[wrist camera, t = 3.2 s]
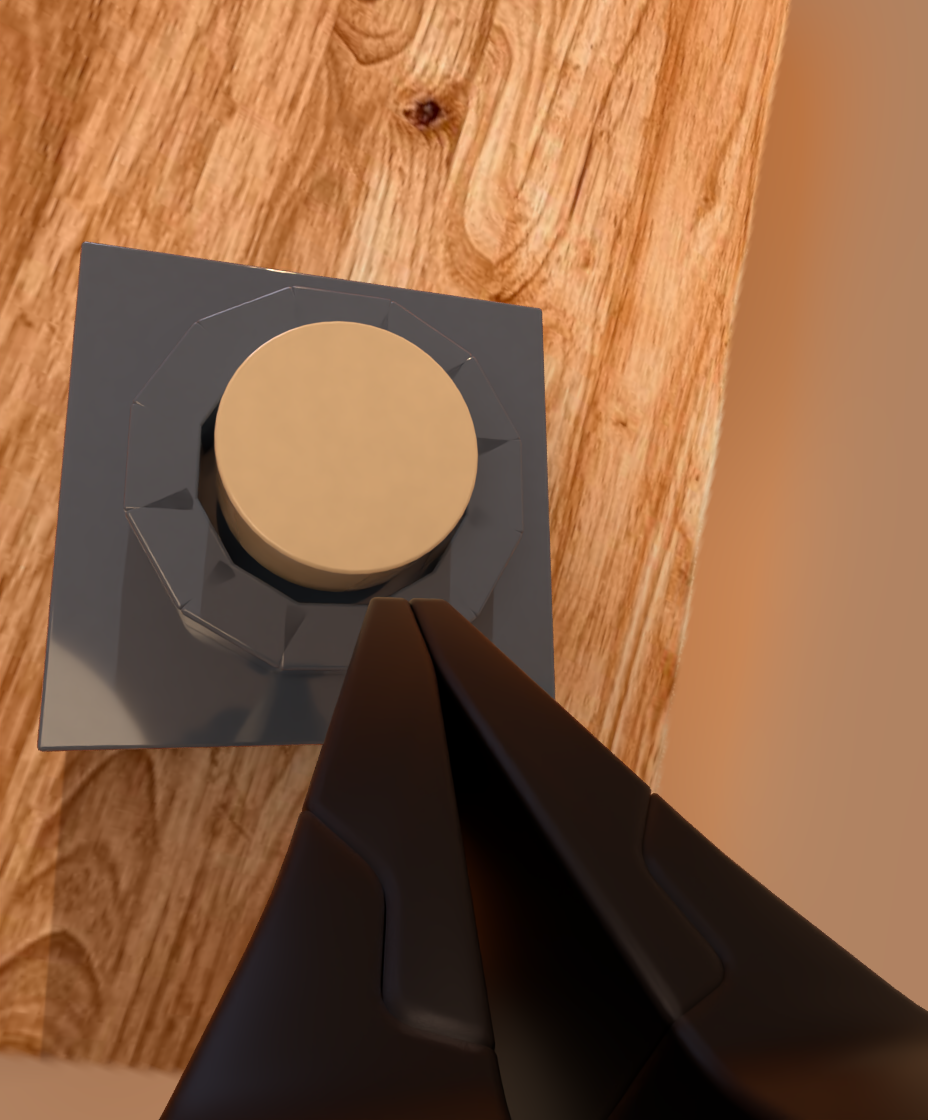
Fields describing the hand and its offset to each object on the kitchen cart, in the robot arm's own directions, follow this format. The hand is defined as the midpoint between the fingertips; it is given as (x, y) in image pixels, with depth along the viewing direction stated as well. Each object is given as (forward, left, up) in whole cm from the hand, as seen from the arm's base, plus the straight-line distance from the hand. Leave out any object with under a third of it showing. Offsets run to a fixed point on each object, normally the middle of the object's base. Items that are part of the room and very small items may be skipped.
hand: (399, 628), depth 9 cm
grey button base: (+3, +1, -12) cm, 13 cm away
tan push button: (+3, +1, -6) cm, 7 cm away
